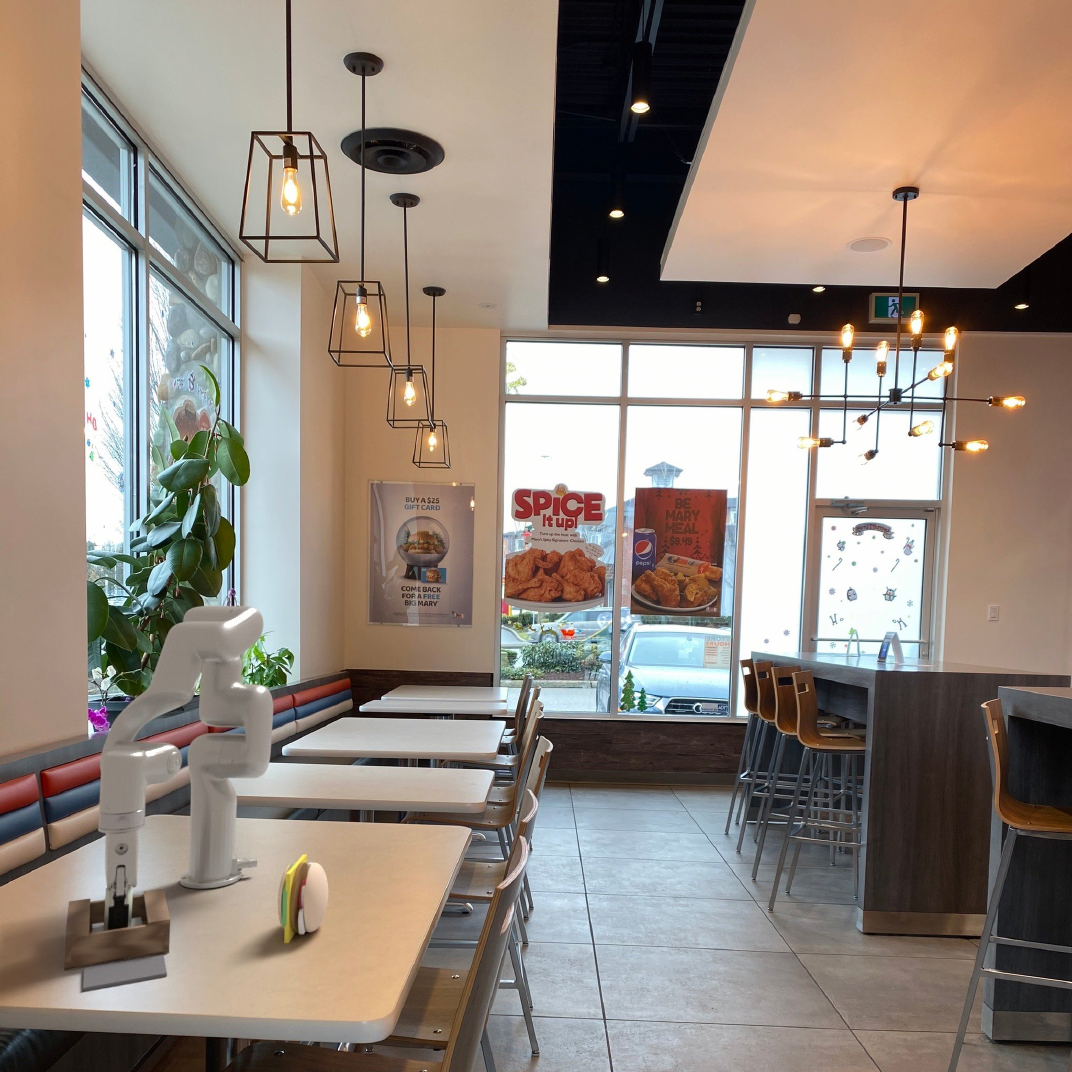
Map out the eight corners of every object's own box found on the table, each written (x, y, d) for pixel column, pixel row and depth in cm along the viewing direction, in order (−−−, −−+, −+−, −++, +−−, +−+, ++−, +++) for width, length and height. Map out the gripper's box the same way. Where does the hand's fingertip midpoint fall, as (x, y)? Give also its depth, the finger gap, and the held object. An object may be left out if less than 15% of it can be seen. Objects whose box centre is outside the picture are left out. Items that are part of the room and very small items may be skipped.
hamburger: (318, 942, 151) (319, 873, 152) (271, 943, 151) (273, 874, 152) (332, 918, 163) (334, 854, 164) (289, 918, 163) (291, 854, 164)
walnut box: (162, 918, 162) (163, 888, 163) (169, 952, 146) (170, 919, 147) (67, 932, 155) (69, 901, 156) (63, 970, 139) (65, 935, 140)
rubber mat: (163, 958, 144) (163, 954, 144) (166, 976, 137) (166, 973, 137) (83, 971, 139) (84, 968, 139) (82, 991, 132) (83, 988, 132)
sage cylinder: (130, 921, 154) (132, 882, 155) (131, 930, 150) (133, 889, 151) (103, 925, 152) (106, 885, 153) (103, 934, 148) (105, 892, 149)
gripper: (147, 828, 147) (142, 937, 145) (142, 807, 162) (138, 906, 160) (98, 833, 143) (93, 944, 142) (98, 811, 158) (94, 912, 157)
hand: (117, 923), depth 151 cm, fingers closed on sage cylinder, 4 cm apart
